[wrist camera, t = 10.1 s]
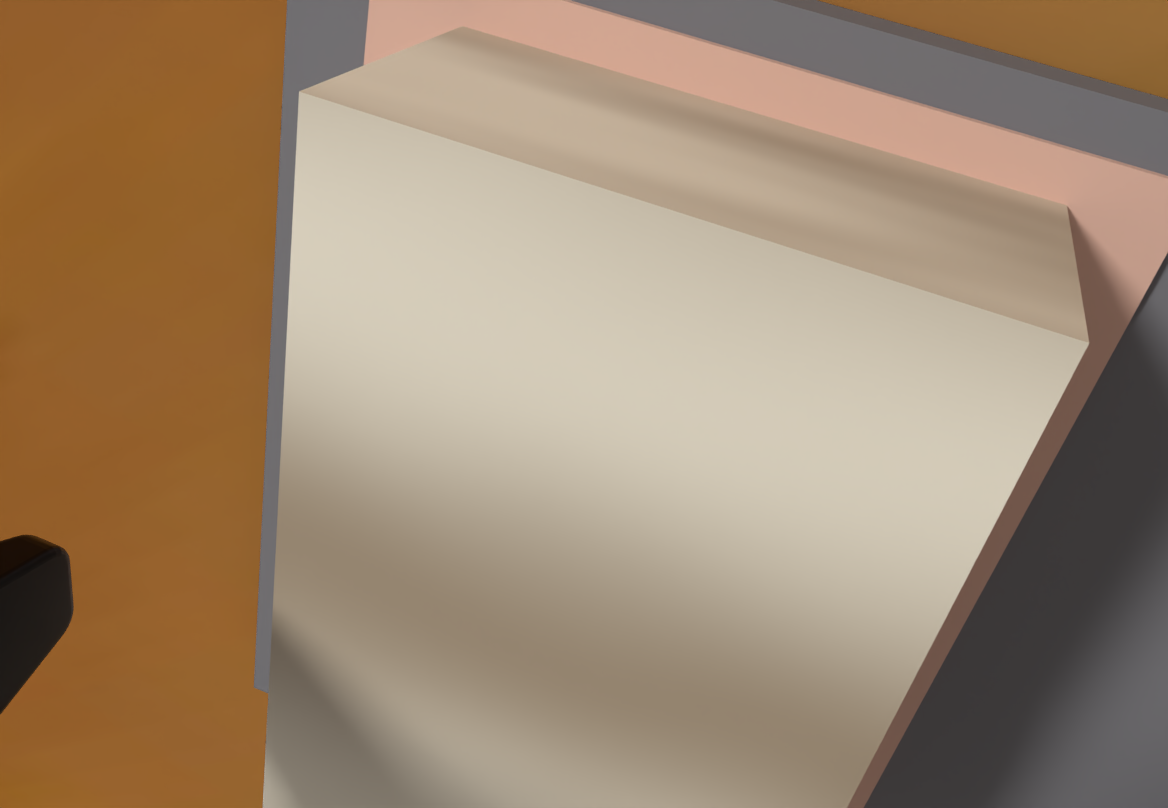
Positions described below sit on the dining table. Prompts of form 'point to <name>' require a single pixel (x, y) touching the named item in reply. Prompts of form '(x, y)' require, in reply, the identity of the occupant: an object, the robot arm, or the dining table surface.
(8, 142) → the dining table surface
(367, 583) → the block
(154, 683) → the dining table surface
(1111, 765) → the mat
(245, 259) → the dining table surface
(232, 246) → the dining table surface
